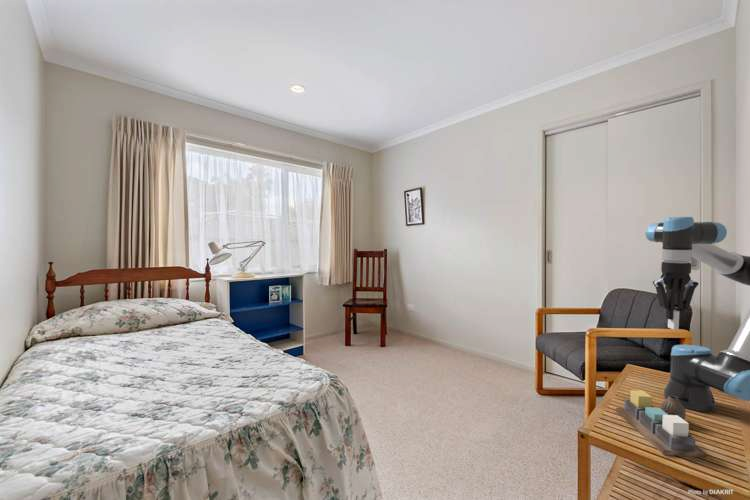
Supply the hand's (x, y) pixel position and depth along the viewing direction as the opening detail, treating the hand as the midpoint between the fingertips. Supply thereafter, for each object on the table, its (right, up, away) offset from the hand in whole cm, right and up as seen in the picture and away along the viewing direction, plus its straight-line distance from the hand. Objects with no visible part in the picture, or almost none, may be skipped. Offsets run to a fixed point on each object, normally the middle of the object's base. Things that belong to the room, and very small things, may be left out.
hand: (673, 328), depth 112 cm
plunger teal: (-6, -34, 0) cm, 34 cm away
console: (-6, -37, 0) cm, 37 cm away
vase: (+6, -36, +7) cm, 37 cm away
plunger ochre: (-5, -31, +8) cm, 33 cm away
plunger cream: (-7, -32, -8) cm, 34 cm away
